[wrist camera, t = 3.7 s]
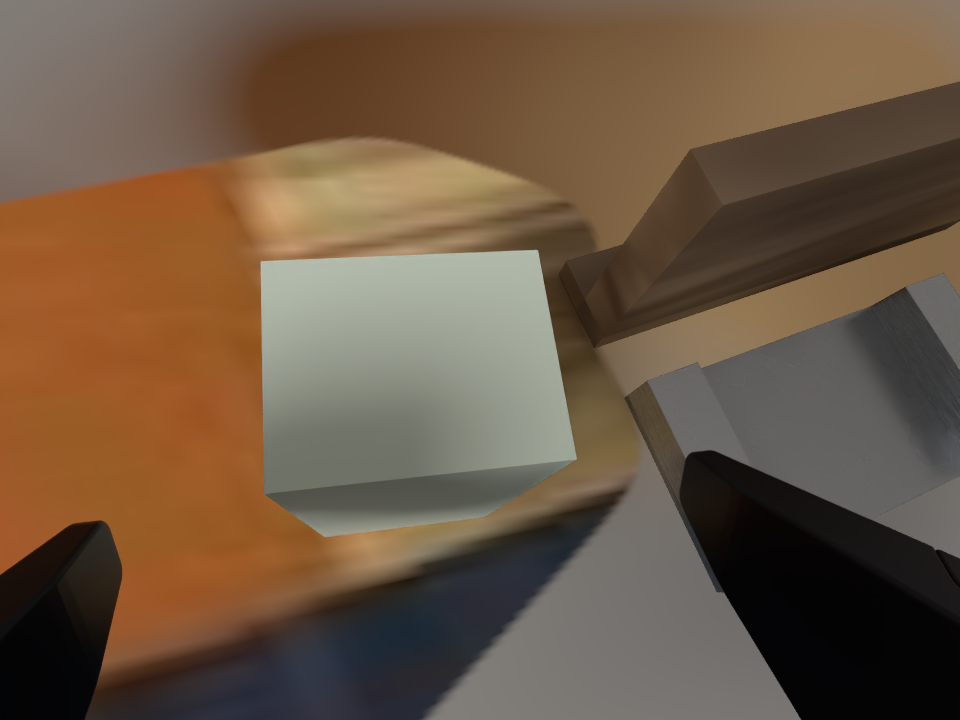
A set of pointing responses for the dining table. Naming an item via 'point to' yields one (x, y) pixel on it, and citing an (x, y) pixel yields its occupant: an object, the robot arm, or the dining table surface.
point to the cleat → (825, 406)
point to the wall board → (777, 212)
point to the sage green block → (408, 388)
